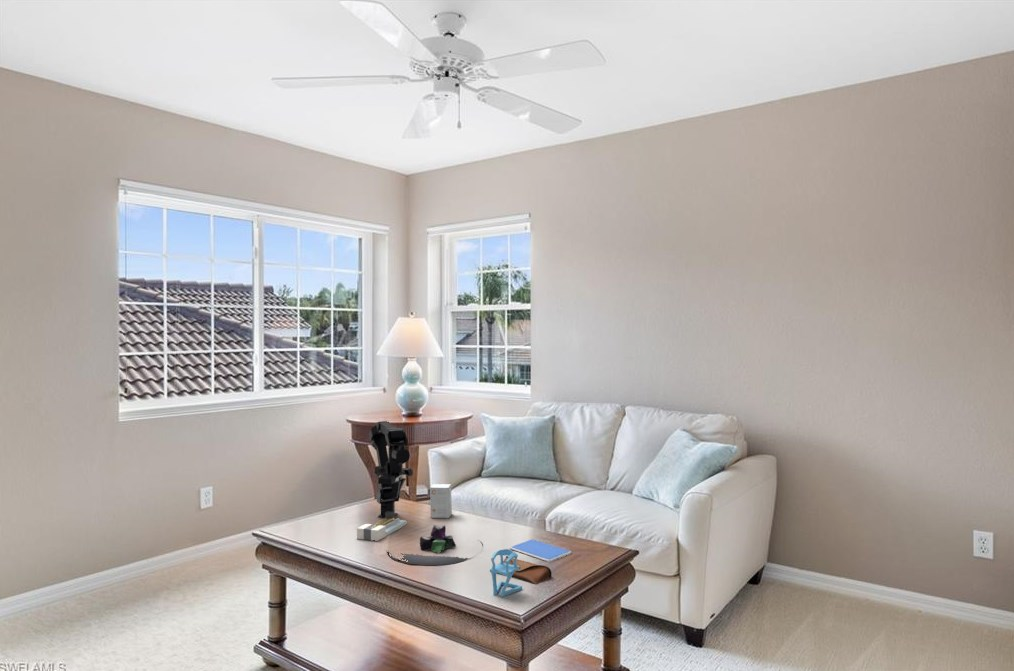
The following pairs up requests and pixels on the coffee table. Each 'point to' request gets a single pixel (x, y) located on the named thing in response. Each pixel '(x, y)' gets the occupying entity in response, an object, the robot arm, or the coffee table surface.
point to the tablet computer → (541, 550)
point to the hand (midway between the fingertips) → (396, 496)
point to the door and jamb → (379, 530)
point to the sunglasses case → (530, 571)
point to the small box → (440, 500)
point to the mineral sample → (433, 549)
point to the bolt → (386, 518)
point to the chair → (504, 572)
